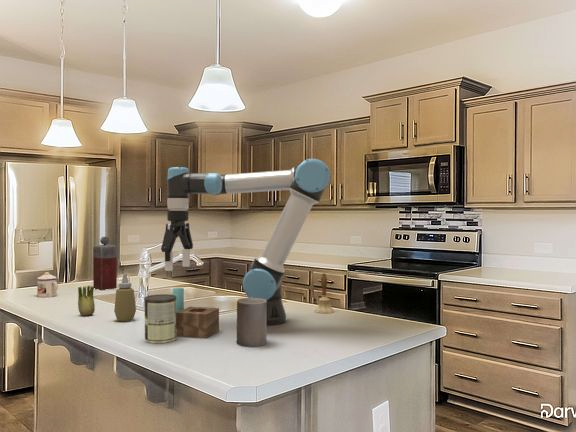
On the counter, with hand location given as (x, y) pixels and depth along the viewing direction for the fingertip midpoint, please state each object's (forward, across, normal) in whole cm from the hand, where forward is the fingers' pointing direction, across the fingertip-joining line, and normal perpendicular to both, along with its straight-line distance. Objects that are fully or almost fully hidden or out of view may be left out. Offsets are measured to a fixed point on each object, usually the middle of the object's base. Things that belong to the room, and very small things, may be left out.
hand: (177, 268), depth 188 cm
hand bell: (+21, -42, +46) cm, 66 cm away
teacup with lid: (+22, -44, -92) cm, 104 cm away
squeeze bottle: (+22, -5, -25) cm, 33 cm away
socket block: (+21, +7, +11) cm, 25 cm away
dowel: (+21, 0, 0) cm, 21 cm away
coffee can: (+22, +18, +3) cm, 28 cm away
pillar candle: (+21, +14, +33) cm, 42 cm away
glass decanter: (+22, -73, -81) cm, 111 cm away
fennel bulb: (+22, -9, -45) cm, 51 cm away
